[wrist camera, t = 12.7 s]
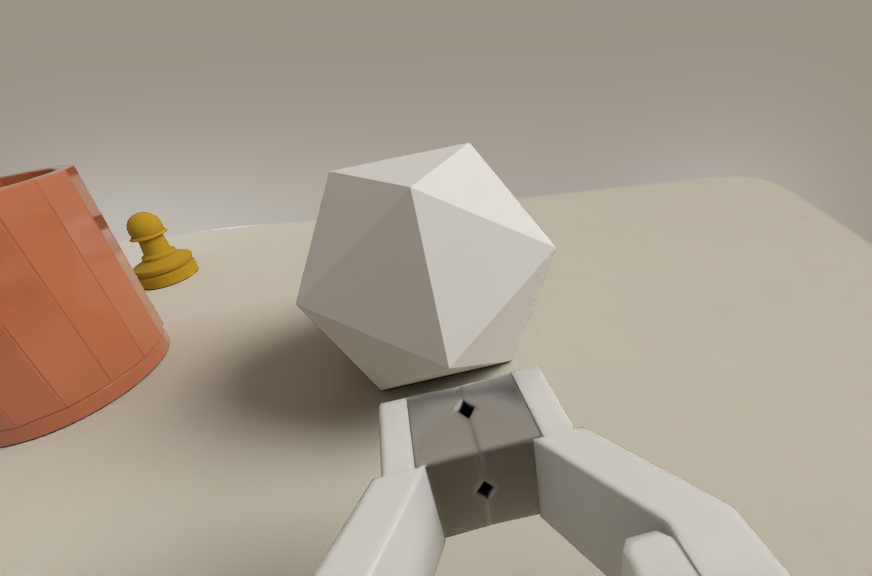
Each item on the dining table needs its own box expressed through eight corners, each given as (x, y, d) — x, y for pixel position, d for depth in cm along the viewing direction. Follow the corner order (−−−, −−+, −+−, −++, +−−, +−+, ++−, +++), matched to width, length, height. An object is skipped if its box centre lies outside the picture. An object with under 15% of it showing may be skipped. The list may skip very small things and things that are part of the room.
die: (523, 295, 22) (388, 151, 21) (655, 270, 14) (443, 26, 13) (411, 422, 20) (252, 269, 19) (489, 486, 12) (208, 212, 10)
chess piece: (155, 293, 30) (118, 225, 27) (132, 285, 32) (96, 222, 30) (208, 267, 32) (178, 204, 30) (183, 261, 35) (153, 202, 32)
